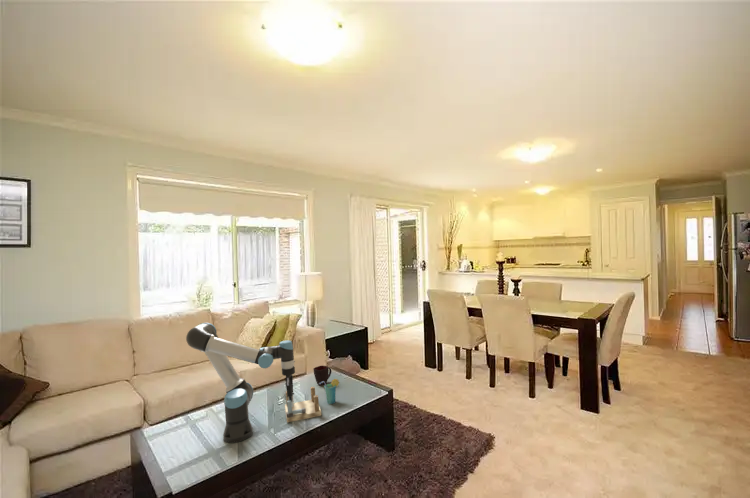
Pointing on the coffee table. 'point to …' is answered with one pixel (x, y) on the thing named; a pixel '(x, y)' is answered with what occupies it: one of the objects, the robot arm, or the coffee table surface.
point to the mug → (322, 374)
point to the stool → (310, 406)
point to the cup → (331, 390)
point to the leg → (294, 410)
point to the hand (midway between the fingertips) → (291, 406)
